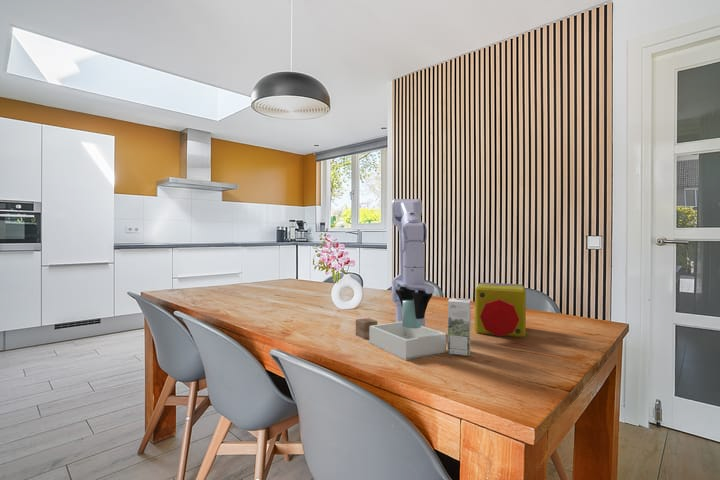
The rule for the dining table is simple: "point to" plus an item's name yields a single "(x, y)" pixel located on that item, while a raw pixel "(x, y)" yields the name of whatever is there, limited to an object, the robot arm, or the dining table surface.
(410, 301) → the teal canister
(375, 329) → the grey tote
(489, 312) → the emergency stop button
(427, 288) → the robot arm
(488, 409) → the dining table surface
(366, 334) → the walnut cube
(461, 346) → the syrup box
